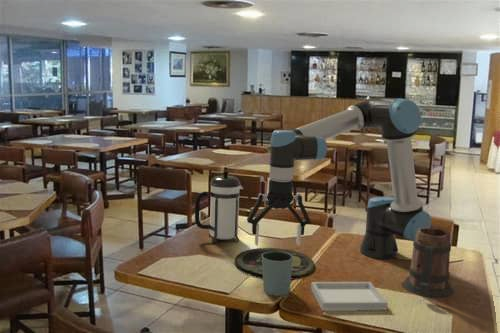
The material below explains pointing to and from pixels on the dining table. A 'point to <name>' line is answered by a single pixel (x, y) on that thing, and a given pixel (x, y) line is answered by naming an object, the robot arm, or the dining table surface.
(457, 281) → the dining table surface
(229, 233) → the coffee press
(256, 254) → the decorative plate
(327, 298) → the tray
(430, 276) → the tankard
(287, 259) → the teal cup
